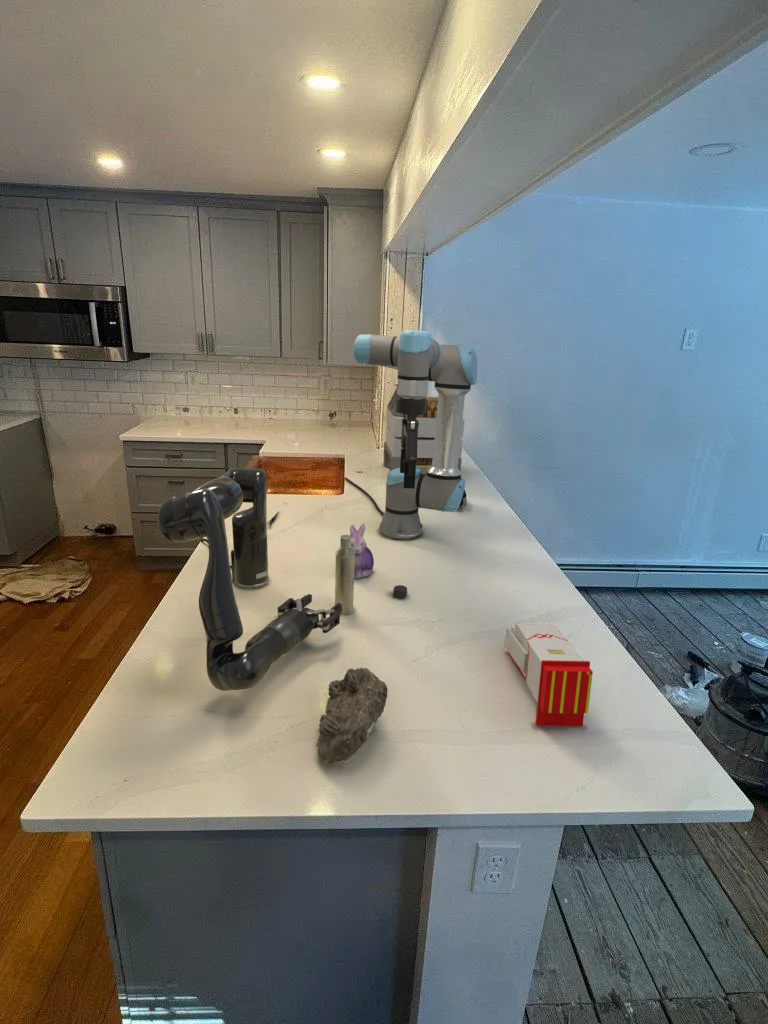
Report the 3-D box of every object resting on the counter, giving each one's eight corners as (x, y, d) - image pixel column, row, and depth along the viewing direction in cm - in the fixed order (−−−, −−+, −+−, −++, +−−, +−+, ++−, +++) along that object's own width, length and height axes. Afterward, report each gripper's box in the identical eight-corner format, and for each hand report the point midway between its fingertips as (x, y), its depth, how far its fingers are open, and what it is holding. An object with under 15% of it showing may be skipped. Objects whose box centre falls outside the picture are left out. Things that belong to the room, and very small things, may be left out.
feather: (286, 506, 225) (288, 502, 225) (268, 529, 199) (271, 525, 198) (282, 503, 225) (284, 499, 225) (264, 526, 199) (267, 522, 198)
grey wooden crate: (382, 463, 289) (386, 382, 275) (445, 464, 293) (451, 384, 279) (390, 482, 257) (394, 392, 243) (460, 483, 261) (468, 394, 247)
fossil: (321, 669, 117) (379, 637, 112) (350, 699, 119) (408, 669, 114) (296, 756, 97) (365, 723, 92) (332, 790, 100) (400, 759, 95)
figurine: (352, 582, 163) (353, 533, 158) (338, 567, 172) (338, 521, 166) (381, 576, 167) (383, 529, 162) (366, 562, 176) (367, 517, 171)
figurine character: (467, 515, 225) (461, 499, 238) (469, 498, 221) (463, 482, 235) (450, 514, 224) (445, 498, 238) (452, 497, 221) (447, 482, 234)
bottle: (344, 603, 152) (346, 531, 145) (356, 610, 148) (359, 536, 141) (331, 609, 148) (331, 536, 141) (343, 616, 145) (344, 541, 138)
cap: (395, 599, 155) (395, 592, 154) (391, 592, 158) (392, 585, 157) (408, 598, 156) (408, 591, 155) (404, 591, 159) (405, 584, 158)
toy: (550, 607, 134) (601, 667, 105) (545, 659, 137) (594, 732, 108) (499, 606, 134) (537, 666, 104) (495, 659, 137) (530, 731, 107)
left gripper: (312, 626, 120) (350, 595, 134) (259, 609, 126) (300, 581, 140) (312, 656, 123) (350, 623, 137) (260, 638, 129) (301, 607, 142)
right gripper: (393, 389, 150) (390, 466, 157) (399, 404, 127) (395, 494, 134) (421, 390, 150) (416, 467, 158) (433, 405, 127) (426, 495, 134)
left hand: (325, 601), depth 138 cm, fingers open, 8 cm apart
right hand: (406, 480), depth 146 cm, fingers open, 13 cm apart
